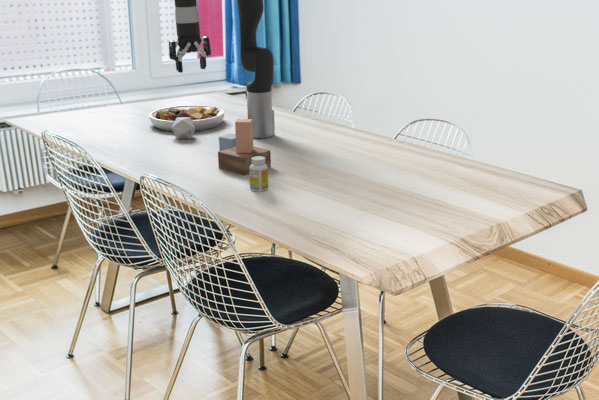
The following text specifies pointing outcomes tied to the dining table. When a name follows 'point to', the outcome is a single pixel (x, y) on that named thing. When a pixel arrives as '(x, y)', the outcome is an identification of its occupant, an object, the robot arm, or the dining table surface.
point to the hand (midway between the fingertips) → (191, 70)
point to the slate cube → (227, 141)
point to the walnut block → (241, 160)
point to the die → (183, 128)
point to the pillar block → (244, 135)
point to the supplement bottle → (258, 174)
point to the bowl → (199, 115)
